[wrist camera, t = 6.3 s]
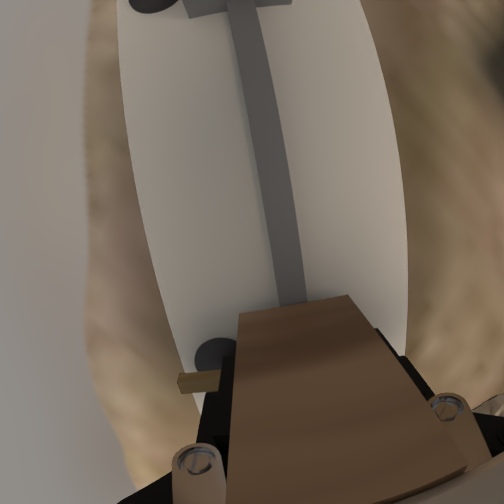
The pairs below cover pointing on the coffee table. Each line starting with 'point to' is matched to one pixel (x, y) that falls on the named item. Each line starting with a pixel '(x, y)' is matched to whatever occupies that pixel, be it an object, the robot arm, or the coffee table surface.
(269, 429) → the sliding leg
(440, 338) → the coffee table surface
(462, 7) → the coffee table surface
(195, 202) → the board
